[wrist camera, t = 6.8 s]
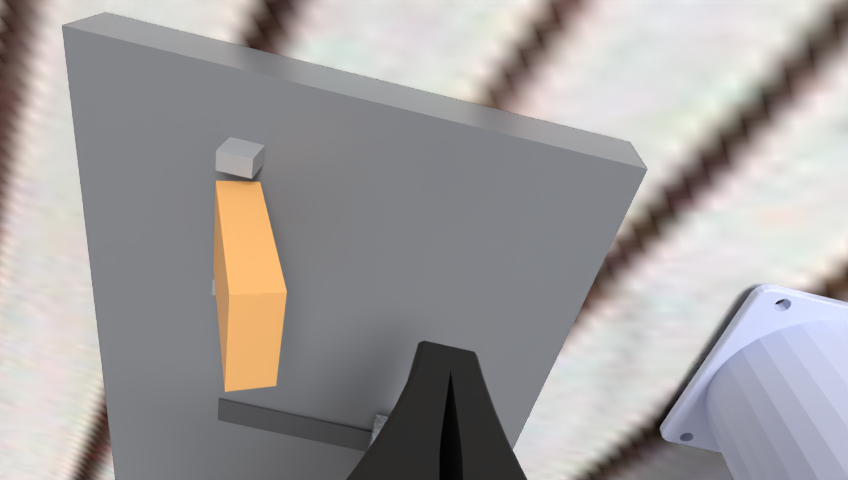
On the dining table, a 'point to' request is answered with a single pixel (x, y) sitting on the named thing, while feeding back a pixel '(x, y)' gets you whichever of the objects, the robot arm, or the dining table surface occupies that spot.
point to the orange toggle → (247, 287)
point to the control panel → (318, 245)
